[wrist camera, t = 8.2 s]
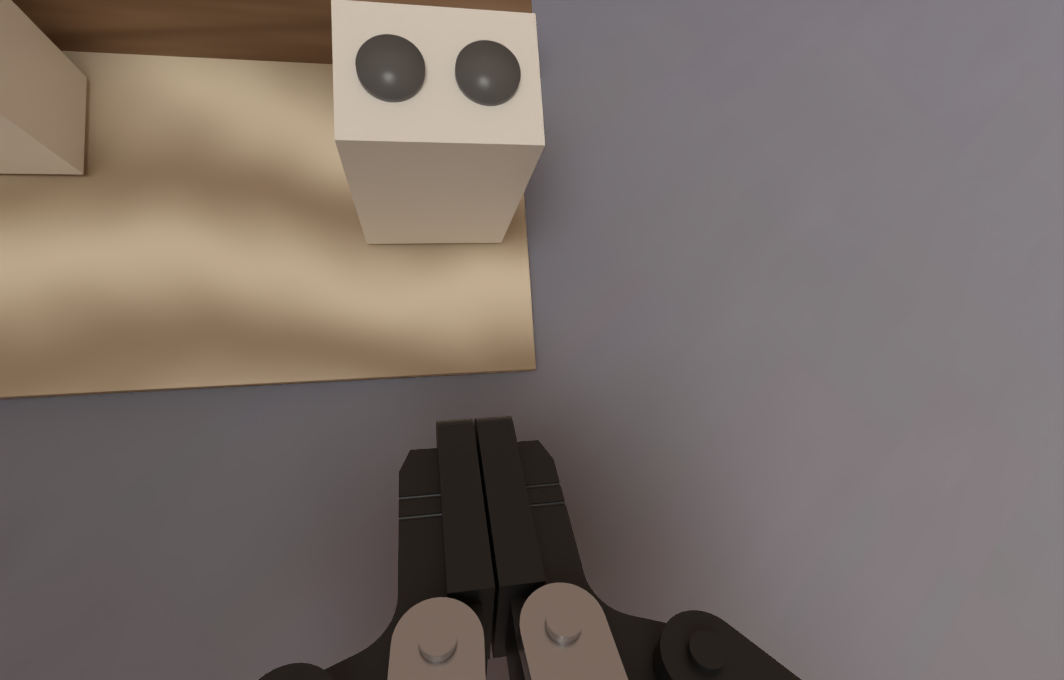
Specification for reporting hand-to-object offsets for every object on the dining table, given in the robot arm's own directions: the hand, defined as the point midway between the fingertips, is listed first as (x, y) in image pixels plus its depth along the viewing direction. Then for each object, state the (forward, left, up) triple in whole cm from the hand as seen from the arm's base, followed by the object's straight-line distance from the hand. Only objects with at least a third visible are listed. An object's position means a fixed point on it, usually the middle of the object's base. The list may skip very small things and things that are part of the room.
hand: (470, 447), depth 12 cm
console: (+2, +13, -13) cm, 18 cm away
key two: (+8, +6, -12) cm, 15 cm away
